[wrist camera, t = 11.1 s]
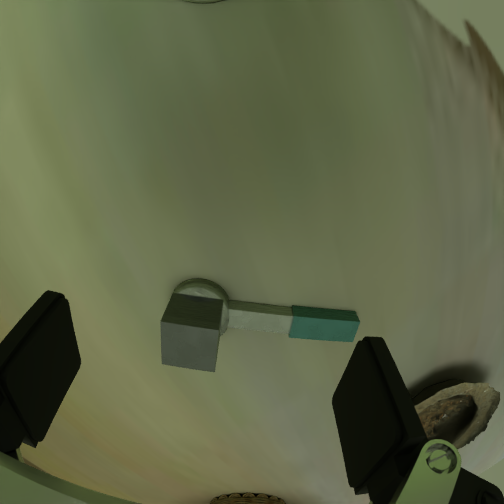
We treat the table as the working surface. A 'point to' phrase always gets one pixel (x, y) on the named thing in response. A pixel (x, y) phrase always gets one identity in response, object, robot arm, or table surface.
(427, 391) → the stone bowl
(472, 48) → the table surface
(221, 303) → the brushed grey cube
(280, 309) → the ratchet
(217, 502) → the wicker basket
